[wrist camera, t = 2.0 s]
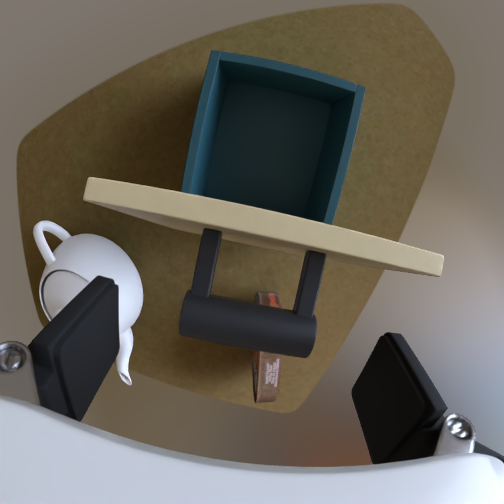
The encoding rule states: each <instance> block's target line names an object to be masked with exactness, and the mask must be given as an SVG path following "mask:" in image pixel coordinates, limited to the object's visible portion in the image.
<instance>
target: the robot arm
mask: <svg viewBox="0 0 504 504" xmlns="http://www.w3.org/2000/svg"><path fill="white" fill-rule="evenodd" d="M119 349H120V339H119V287H118V285H117V284H115V282H114V280H113V279H111V278H107V277H103V276H100V275H98V276H96V277H95V278H94V279H93V280H92V281H91V282H90V283H89V284H88V285H87V286H86V287H85V288H84V289H83V290H82V291H80V292H79V293H78V294H77V295H76V296H75V297H74V298H73V299H72V300H71V301H70V302H69V303H68V304H67V305H66V306H65V307H64V308H63V309H62V310H61V311H60V312H59V313H58V314H57V315H56V316H55V317H54V318H53V319H52V320H51V321H50V322H49V323H48V324H47V325H46V326H45V327H44V328H43V330H42V331H41V332H40V333H39V334H38V335H37V336H36V337H35V338H34V339H33V340H32V342H31V343H30V344H29V345H28V347H27V346H26V345H24V344H23V343H20V342H17V341H6V342H2V343H0V504H504V456H502V455H500V454H499V453H497V452H495V451H493V450H491V449H489V448H487V447H485V446H484V445H482V444H480V443H478V442H476V441H475V436H476V431H475V429H474V426H473V425H472V423H471V422H470V421H469V420H468V419H467V418H466V417H464V416H463V415H460V414H456V413H452V414H449V415H448V416H446V417H445V418H444V416H443V414H444V413H445V411H446V410H447V406H446V405H445V403H444V401H443V399H442V398H441V396H440V394H439V393H438V391H437V389H436V388H435V386H434V384H433V383H432V381H431V379H430V378H429V376H428V375H427V373H426V371H425V370H424V368H423V367H422V365H421V363H420V362H419V360H418V359H417V357H416V356H415V354H414V353H413V351H412V349H411V348H410V347H409V345H408V343H407V342H406V340H405V339H404V337H403V336H402V335H401V334H398V333H390V332H387V333H385V334H384V336H381V337H380V338H379V340H378V342H377V344H376V346H375V348H374V350H373V352H372V354H371V355H370V357H369V359H368V361H367V363H366V365H365V367H364V369H363V370H362V372H361V374H360V376H359V377H358V379H357V381H356V383H355V384H354V386H353V388H352V399H353V401H354V404H355V408H356V411H357V414H358V417H359V420H360V424H361V427H362V430H363V433H364V436H365V440H366V443H367V446H368V450H369V453H370V456H371V460H372V463H373V465H362V466H344V467H289V466H272V465H258V464H249V463H240V462H233V461H225V460H219V459H213V458H206V457H201V456H196V455H190V454H186V453H181V452H176V451H172V450H168V449H164V448H160V447H156V446H152V445H148V444H145V443H141V442H138V441H135V440H131V439H128V438H125V437H122V436H118V435H115V434H112V433H109V432H106V431H103V430H101V429H98V428H95V427H92V426H89V425H87V424H84V423H82V422H80V421H81V420H82V419H83V417H84V415H85V413H86V411H87V409H88V407H89V406H90V404H91V402H92V400H93V398H94V396H95V395H96V393H97V391H98V389H99V387H100V385H101V384H102V381H103V380H104V378H105V376H106V375H107V373H108V371H109V369H110V367H111V366H112V364H113V362H114V361H115V359H116V357H117V355H118V353H119Z"/></svg>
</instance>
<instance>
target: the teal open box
mask: <svg viewBox="0 0 504 504" xmlns="http://www.w3.org/2000/svg"><path fill="white" fill-rule="evenodd" d="M365 89H366V87H363V86H360V85H358V84H357V85H356V84H354V83H352V82H349V81H346V80H343V79H340V78H337V77H333V76H330V75H327V74H324V73H320V72H317V71H313V70H310V69H306V68H302V67H298V66H294V65H290V64H286V63H282V62H277V61H273V60H268V59H263V58H258V57H252V56H247V55H241V54H235V53H228V52H221V51H214V50H212V51H211V54H210V58H209V62H208V66H207V69H206V73H205V77H204V81H203V85H202V89H201V94H200V98H199V102H198V107H197V111H196V115H195V120H194V125H193V129H192V134H191V139H190V144H189V149H188V154H187V160H186V165H185V171H184V176H183V182H182V188H181V192H183V193H188V194H193V195H198V196H203V197H208V198H213V199H218V200H223V201H228V202H233V203H238V204H242V205H247V206H252V207H256V208H261V209H265V210H270V211H274V212H279V213H283V214H288V215H292V216H296V217H300V218H305V219H309V220H313V221H317V222H321V223H325V224H329V225H332V223H333V219H334V216H335V212H336V209H337V205H338V202H339V198H340V194H341V191H342V187H343V183H344V179H345V176H346V172H347V168H348V164H349V160H350V156H351V152H352V148H353V144H354V140H355V135H356V131H357V127H358V122H359V118H360V113H361V109H362V104H363V99H364V94H365Z"/></svg>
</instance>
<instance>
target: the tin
mask: <svg viewBox="0 0 504 504" xmlns="http://www.w3.org/2000/svg"><path fill="white" fill-rule="evenodd" d="M255 303H256V304H261V305H266V306H271V307H277V308H282V305H281V302H280V298H279V294H278V293H274V292H259V291H257V293H256V296H255ZM282 309H283V308H282ZM252 358H253V359H252V372H253V392H254V401H255V403H258V402H274V401H275V400H276V399H277V397H278V392H279V385H280V378H281V370H282V362H283V355H280V354H274V353H268V352H262V351H256V350H253V354H252Z"/></svg>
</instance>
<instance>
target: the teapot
mask: <svg viewBox="0 0 504 504" xmlns="http://www.w3.org/2000/svg"><path fill="white" fill-rule="evenodd" d="M43 231H48V232H50V233H53V234H54V235H56V236H57V237H58V238H60V239H61V240H62V241H63V242H62V243H61V244H60V245H59V246H58V247H57V248H56V249H55V250H54V252H53V253H52V252H51V250H50V248H49V246H48V244H47V242H46V240H45V237H44V235H43ZM33 235H34V239H35V241H36V244H37V246H38V248H39V250H40V252H41V254H42V256H43V258H44V260H45V262H46V266H45V269H44V272H43V275H42V278H41V281H40V285H39V295H40V301H41V305H42V308H43V310H44V312H45V314H46V316H47V318H48V319H49V321H51V320H52V319H53V318H54V317H55V316H56V315H57V314H58V313H59V312H60V311H61V310H62V309H63V308H64V307H65V306H66V305H67V304H68V303H69V302H70V301H71V300H72V299H73V298H74V297H75V296H76V295H77V294H78V293H79V292H80V291H82V290H83V289H84V288H85V287H86V286H87V285H88V284H89V283H90V282H91V281H92V280H93V279H94V278H95V277H96V276H98V275H100V276H103V277H107V278H111V279H113V280H114V282H115V284H117V285H118V287H119V339H120V349H119V353H118V355H117V357H116V364H117V370H118V373H119V375H120V377H121V378H122V380H123V381H124V382H125V383H127V384H128V385H131V384H132V382H131V379H130V376H129V372H128V362H129V358H130V354H131V351H132V347H133V334H132V330H131V328H130V327H131V326H132V325H133V324H134V323H135V321H136V319H137V318H138V316H139V314H140V311H141V308H142V305H143V289H142V283H141V279H140V276H139V273H138V271H137V269H136V267H135V265H134V264H133V262H132V261H131V259H130V258H129V256H128V255H127V254H126V253H125V252H124V251H123V250H122V249H121V248H120V247H119V246H118V245H116V244H115V243H114V242H112V241H111V240H109V239H107V238H104V237H102V236H98V235H95V234H79V235H75V236H71V235H70V234H69V233H68V232H67V231H65V230H64V229H63V228H62V227H60V226H59V225H57V224H55V223H53V222H51V221H41V222H39V223H37V224H36V225H35V226H34V229H33Z"/></svg>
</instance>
